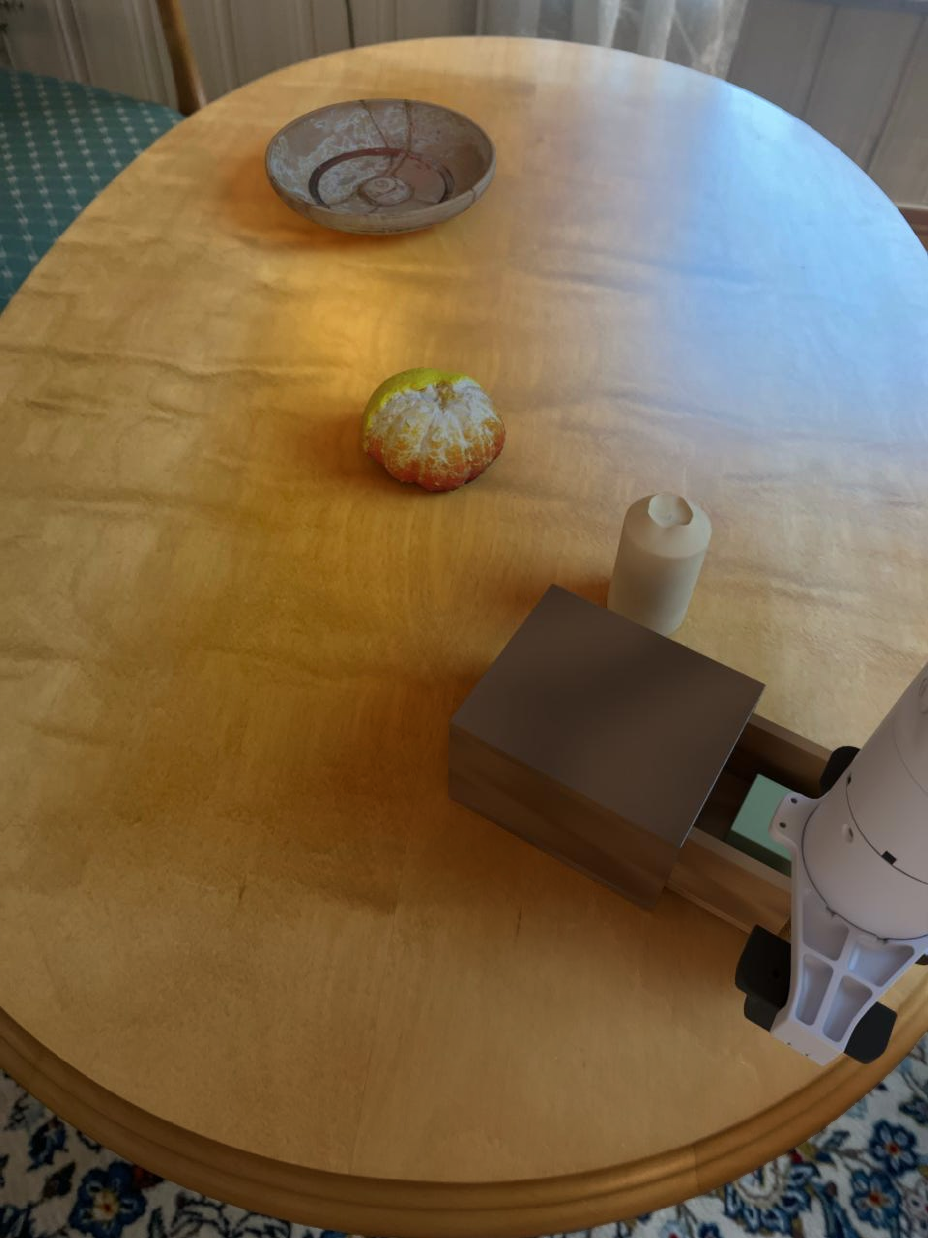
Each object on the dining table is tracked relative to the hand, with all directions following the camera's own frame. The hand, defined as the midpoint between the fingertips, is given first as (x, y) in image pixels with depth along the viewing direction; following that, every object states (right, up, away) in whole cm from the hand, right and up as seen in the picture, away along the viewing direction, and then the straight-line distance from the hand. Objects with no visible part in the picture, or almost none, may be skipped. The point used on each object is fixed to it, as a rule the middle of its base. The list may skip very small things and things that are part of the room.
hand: (799, 946), depth 43 cm
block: (+2, +1, +12) cm, 12 cm away
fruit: (-17, +27, +34) cm, 47 cm away
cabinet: (-7, +5, +17) cm, 19 cm away
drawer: (+3, 0, +12) cm, 13 cm away
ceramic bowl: (-23, +58, +59) cm, 86 cm away
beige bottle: (-2, +15, +25) cm, 29 cm away
